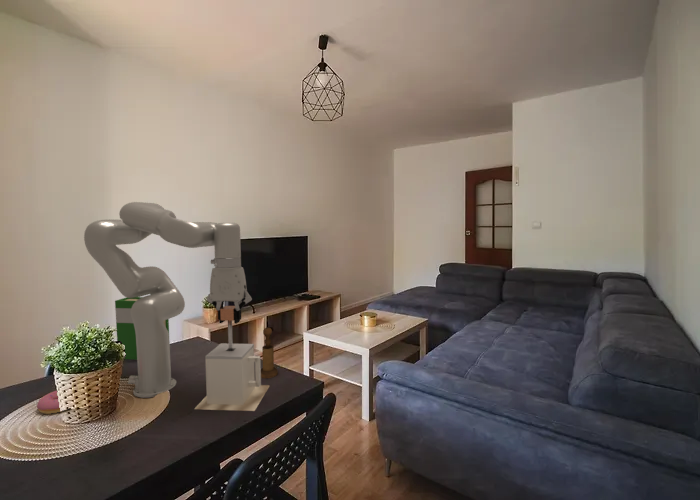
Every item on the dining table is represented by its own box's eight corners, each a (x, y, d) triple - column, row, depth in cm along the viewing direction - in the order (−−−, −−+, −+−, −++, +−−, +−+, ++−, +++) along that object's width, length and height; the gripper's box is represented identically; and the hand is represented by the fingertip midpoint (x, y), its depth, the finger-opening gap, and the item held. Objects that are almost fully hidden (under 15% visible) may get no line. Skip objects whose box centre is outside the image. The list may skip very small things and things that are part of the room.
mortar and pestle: (273, 381, 123) (272, 331, 122) (255, 380, 124) (254, 330, 123) (280, 373, 130) (279, 325, 128) (264, 372, 131) (263, 324, 130)
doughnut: (48, 420, 100) (47, 406, 100) (29, 411, 105) (28, 397, 104) (91, 402, 110) (90, 389, 109) (72, 394, 115) (71, 382, 114)
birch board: (194, 412, 103) (193, 409, 103) (217, 386, 119) (217, 384, 119) (254, 414, 103) (254, 410, 102) (270, 388, 118) (270, 385, 118)
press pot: (207, 404, 106) (205, 356, 105) (222, 387, 117) (220, 343, 116) (254, 405, 105) (253, 357, 104) (265, 388, 116) (264, 344, 115)
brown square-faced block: (212, 371, 107) (210, 310, 105) (223, 360, 115) (221, 304, 114) (239, 372, 106) (237, 311, 105) (248, 361, 115) (247, 304, 113)
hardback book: (170, 353, 150) (167, 297, 148) (158, 360, 142) (156, 301, 141) (131, 352, 152) (128, 296, 150) (118, 358, 144) (114, 300, 142)
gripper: (195, 264, 105) (197, 325, 106) (251, 265, 104) (252, 326, 105) (206, 261, 112) (208, 318, 114) (258, 262, 111) (260, 319, 113)
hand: (229, 321), depth 110 cm, fingers closed on brown square-faced block, 4 cm apart
